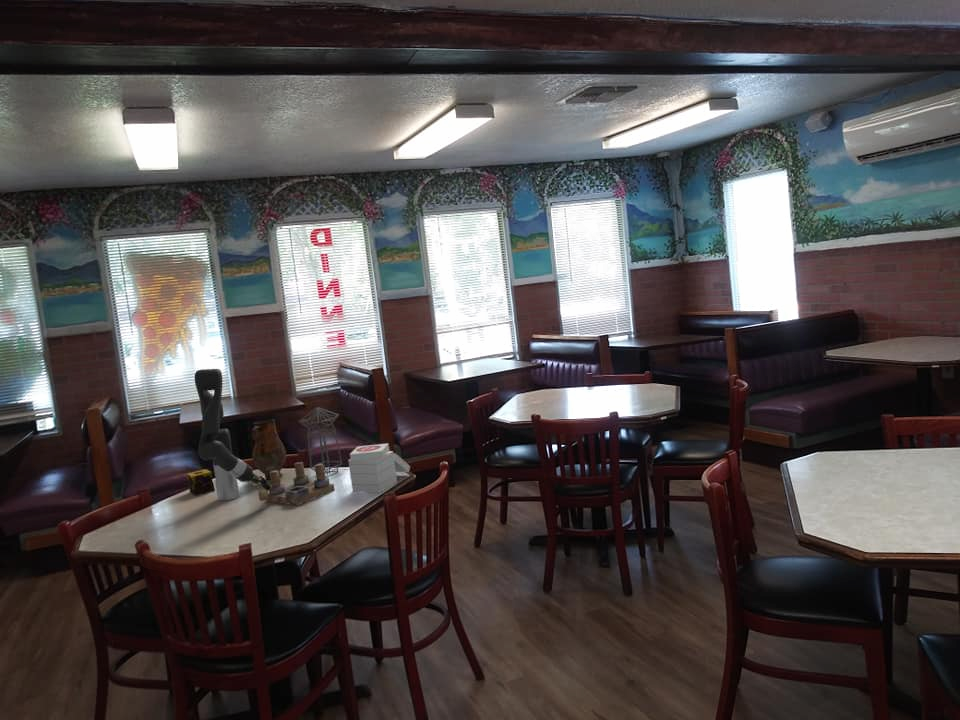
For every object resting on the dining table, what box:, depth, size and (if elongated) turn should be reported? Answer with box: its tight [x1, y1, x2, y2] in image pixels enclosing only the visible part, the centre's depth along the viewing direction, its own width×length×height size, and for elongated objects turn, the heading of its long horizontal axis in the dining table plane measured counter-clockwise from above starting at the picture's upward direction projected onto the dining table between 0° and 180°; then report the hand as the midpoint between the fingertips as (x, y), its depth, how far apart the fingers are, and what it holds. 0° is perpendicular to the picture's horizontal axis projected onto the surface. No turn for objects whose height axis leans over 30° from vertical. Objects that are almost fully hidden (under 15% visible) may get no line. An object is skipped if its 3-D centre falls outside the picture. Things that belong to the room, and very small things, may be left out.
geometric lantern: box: [298, 406, 343, 477], centre depth 370 cm, size 16×16×35 cm
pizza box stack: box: [347, 443, 411, 493], centre depth 342 cm, size 19×30×18 cm, turn 155°
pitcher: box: [251, 418, 287, 481], centre depth 375 cm, size 17×21×30 cm
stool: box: [266, 461, 335, 506], centre depth 337 cm, size 22×22×13 cm
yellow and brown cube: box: [186, 468, 216, 497], centre depth 367 cm, size 10×10×10 cm
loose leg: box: [256, 475, 269, 502], centre depth 325 cm, size 4×4×10 cm
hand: (266, 488), depth 327 cm, fingers closed on loose leg, 4 cm apart
